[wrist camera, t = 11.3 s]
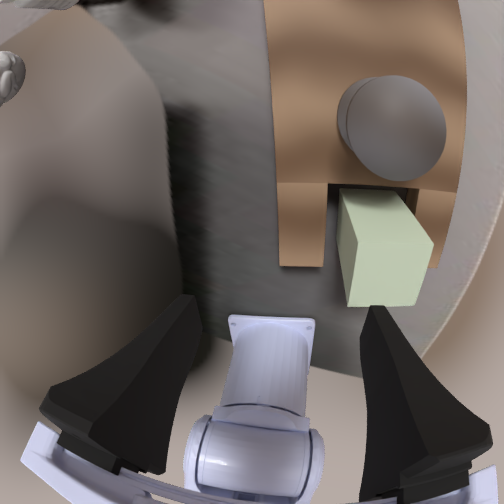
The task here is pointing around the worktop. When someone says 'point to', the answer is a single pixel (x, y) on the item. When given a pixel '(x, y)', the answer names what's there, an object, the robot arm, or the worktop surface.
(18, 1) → the pill bottle
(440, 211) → the notched board
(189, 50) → the worktop surface
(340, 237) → the peg
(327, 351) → the worktop surface
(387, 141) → the bobbin
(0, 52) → the frog figurine
